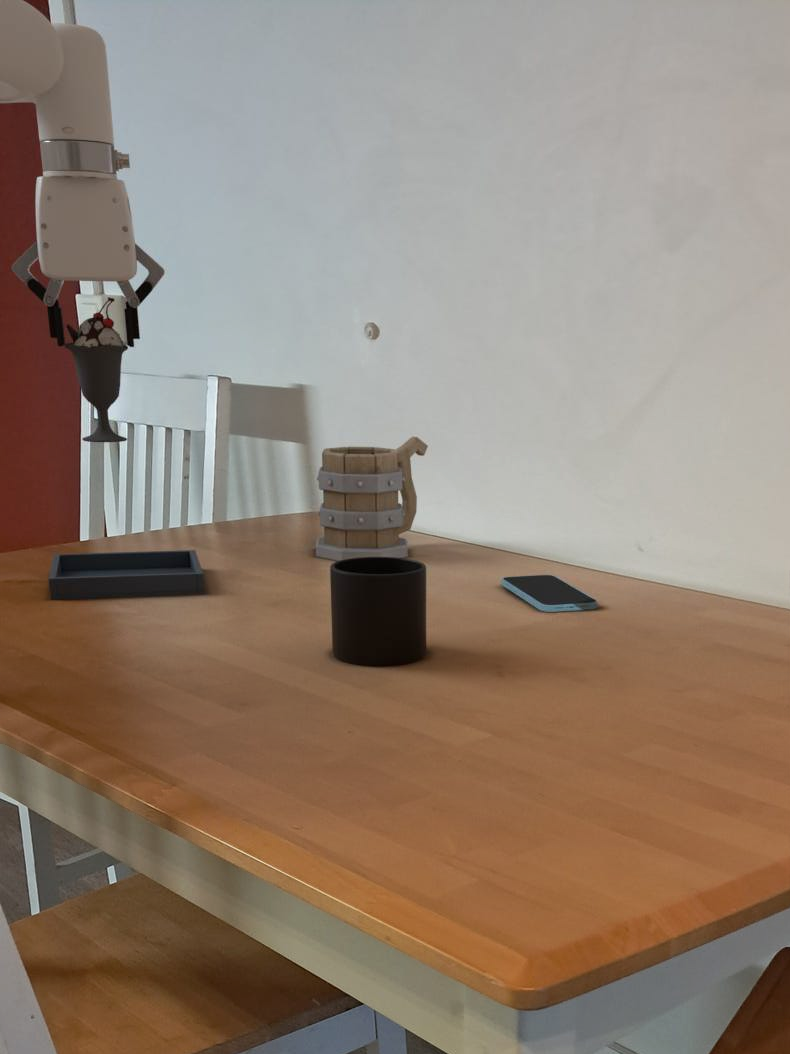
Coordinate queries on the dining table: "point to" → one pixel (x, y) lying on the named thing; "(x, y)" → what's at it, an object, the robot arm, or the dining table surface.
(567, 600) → the smartphone
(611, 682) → the dining table surface
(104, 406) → the sundae
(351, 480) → the tankard
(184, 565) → the tray
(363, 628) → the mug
